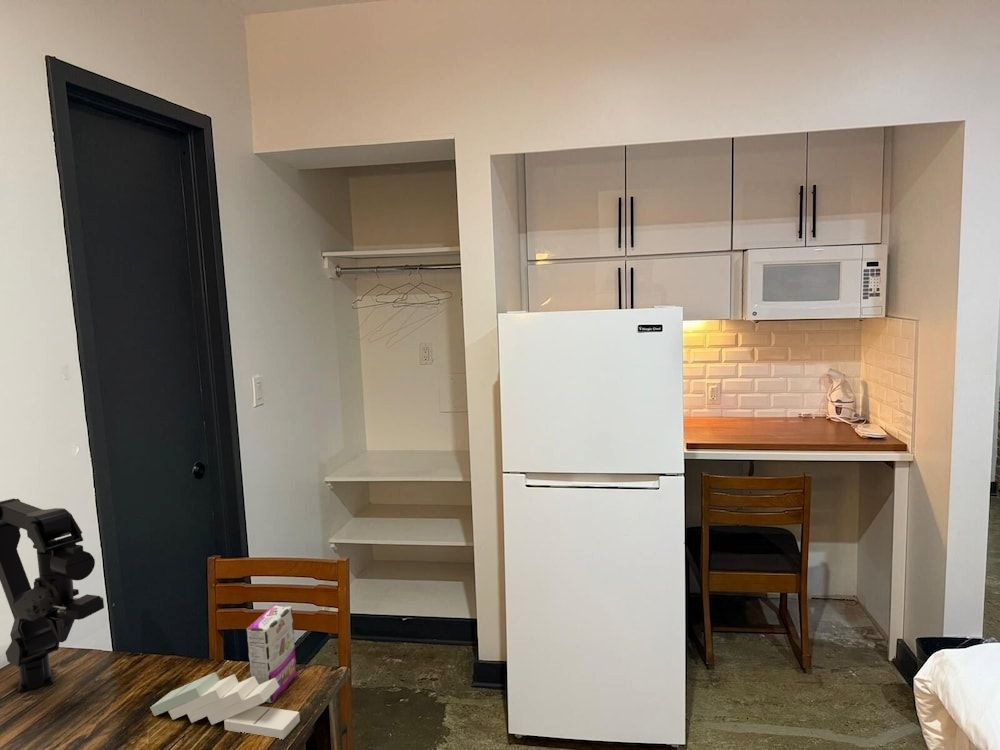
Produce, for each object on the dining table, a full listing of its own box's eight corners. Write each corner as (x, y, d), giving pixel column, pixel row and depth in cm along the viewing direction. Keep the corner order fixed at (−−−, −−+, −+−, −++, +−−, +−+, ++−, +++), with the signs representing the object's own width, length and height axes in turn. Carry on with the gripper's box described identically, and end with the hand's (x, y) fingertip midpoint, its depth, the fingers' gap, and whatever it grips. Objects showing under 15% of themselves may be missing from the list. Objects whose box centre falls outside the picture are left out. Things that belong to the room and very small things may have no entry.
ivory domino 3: (207, 715, 140) (259, 692, 137) (224, 699, 146) (275, 677, 143) (211, 725, 140) (264, 702, 137) (228, 708, 146) (279, 686, 143)
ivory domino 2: (186, 713, 141) (237, 691, 138) (205, 697, 147) (254, 675, 144) (191, 723, 141) (242, 700, 138) (210, 706, 147) (258, 684, 144)
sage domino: (149, 707, 144) (195, 687, 140) (171, 691, 149) (215, 671, 145) (154, 716, 144) (200, 696, 140) (175, 699, 149) (219, 680, 145)
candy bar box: (277, 673, 159) (272, 604, 157) (297, 675, 158) (293, 605, 156) (250, 702, 148) (245, 627, 146) (272, 704, 147) (267, 629, 145)
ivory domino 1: (168, 710, 142) (215, 689, 139) (188, 694, 148) (234, 673, 144) (172, 720, 142) (220, 699, 139) (192, 703, 148) (238, 682, 144)
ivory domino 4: (224, 720, 138) (282, 729, 135) (242, 703, 144) (299, 711, 141) (224, 730, 139) (282, 739, 135) (243, 712, 144) (299, 721, 141)
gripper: (-16, 581, 142) (-8, 654, 144) (54, 591, 137) (62, 667, 139) (35, 560, 153) (42, 629, 155) (102, 569, 147) (109, 640, 149)
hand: (62, 641), depth 149 cm, fingers closed
